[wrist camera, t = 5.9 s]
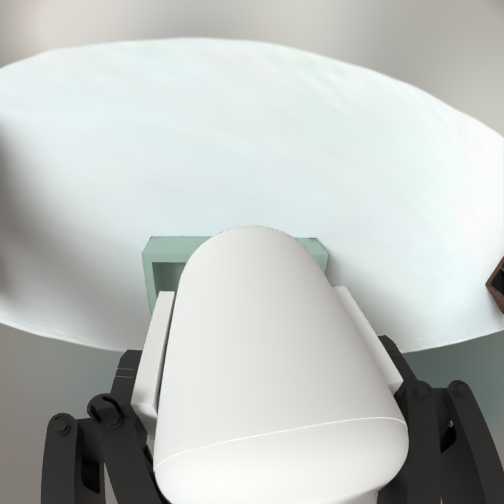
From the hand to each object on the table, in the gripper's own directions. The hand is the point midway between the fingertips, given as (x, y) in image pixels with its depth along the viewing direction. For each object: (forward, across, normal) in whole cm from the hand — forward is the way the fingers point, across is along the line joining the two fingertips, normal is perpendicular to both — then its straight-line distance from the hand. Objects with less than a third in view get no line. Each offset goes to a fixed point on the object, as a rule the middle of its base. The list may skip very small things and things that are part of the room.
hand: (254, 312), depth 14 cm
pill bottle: (+2, 0, 0) cm, 2 cm away
